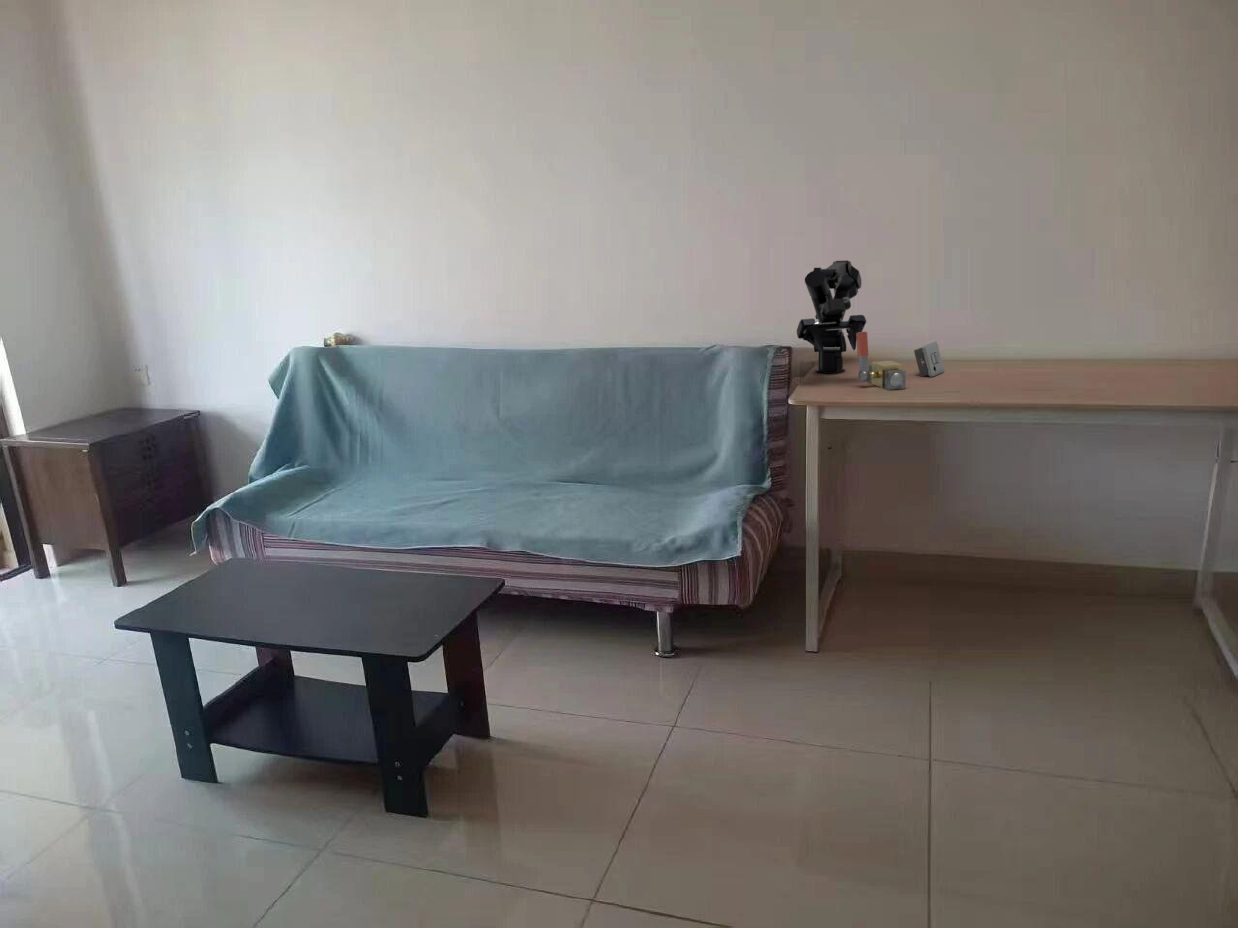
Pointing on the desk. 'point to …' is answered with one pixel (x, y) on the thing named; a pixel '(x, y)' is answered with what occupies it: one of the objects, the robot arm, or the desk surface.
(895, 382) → the valve
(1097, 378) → the desk surface
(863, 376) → the lever
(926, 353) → the electrical switch
